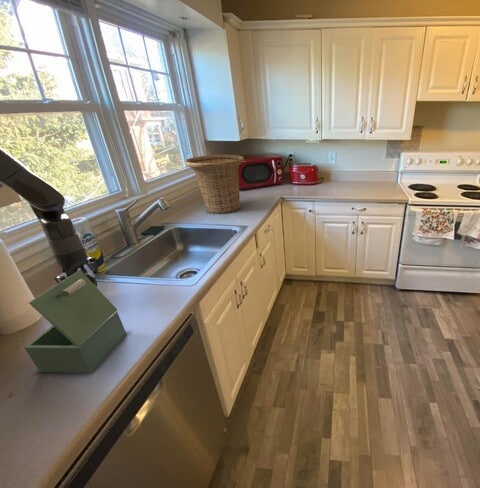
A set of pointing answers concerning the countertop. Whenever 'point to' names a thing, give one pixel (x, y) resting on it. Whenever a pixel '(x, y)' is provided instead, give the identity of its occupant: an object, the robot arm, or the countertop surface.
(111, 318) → the bin
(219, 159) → the wicker basket
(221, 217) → the countertop surface
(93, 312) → the bin lid
